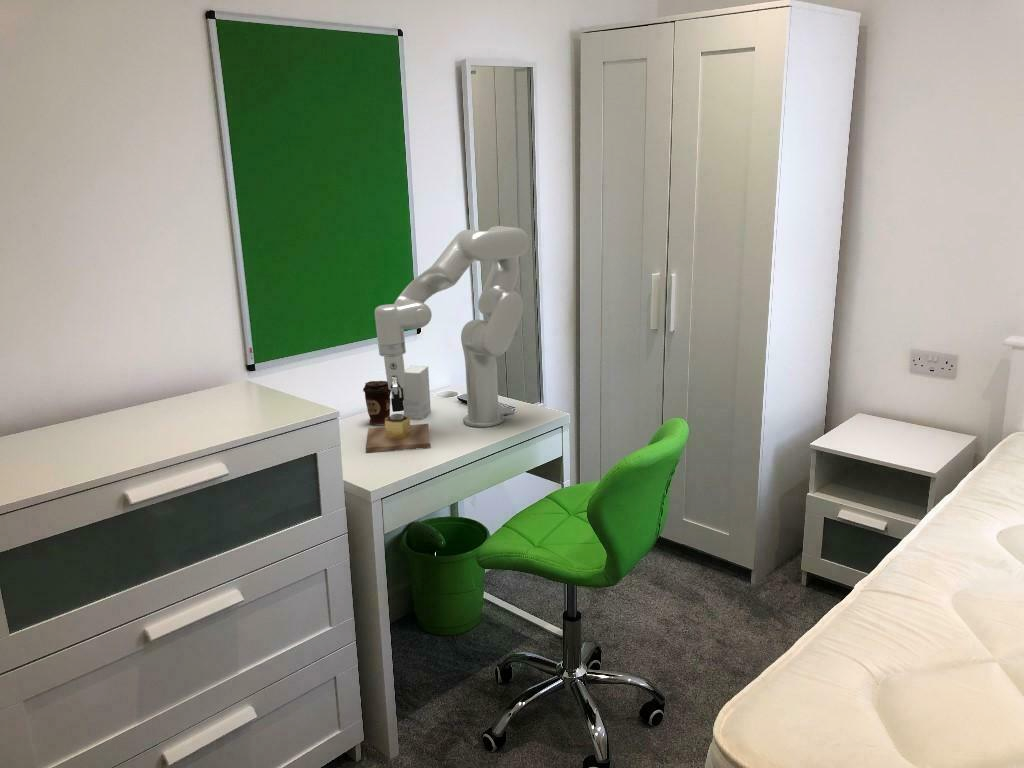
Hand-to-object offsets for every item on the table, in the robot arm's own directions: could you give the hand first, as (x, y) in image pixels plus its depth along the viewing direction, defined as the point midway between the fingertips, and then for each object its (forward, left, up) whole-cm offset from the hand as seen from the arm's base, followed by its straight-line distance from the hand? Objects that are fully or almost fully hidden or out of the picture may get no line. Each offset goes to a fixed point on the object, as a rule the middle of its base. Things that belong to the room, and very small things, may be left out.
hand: (398, 406), depth 240 cm
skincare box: (-5, -23, -11) cm, 26 cm away
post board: (+1, 0, -10) cm, 10 cm away
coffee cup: (+7, -18, -11) cm, 22 cm away
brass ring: (+1, 0, -9) cm, 9 cm away
